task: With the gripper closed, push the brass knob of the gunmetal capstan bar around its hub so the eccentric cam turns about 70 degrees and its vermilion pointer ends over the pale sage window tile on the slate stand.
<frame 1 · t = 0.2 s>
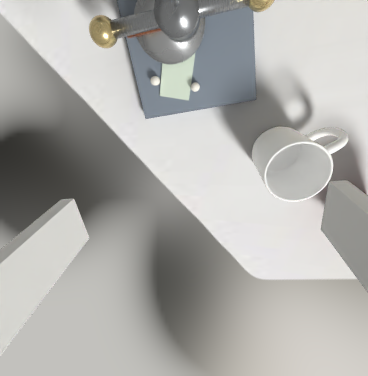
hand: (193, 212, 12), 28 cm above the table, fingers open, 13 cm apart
cup: (286, 144, 37), on the table
stand: (184, 26, 31), on the table
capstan: (179, 17, 26), point 5 cm above the table, hinge at 0.0°
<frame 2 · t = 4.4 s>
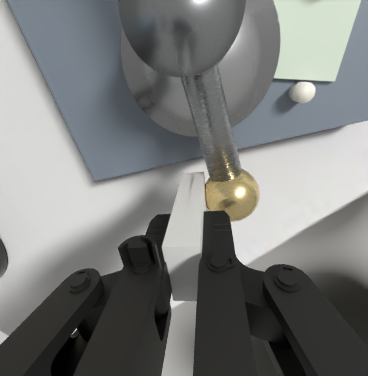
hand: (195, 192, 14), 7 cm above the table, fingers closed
stand: (194, 39, 16), on the table
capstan: (187, 22, 11), point 5 cm above the table, hinge at 2.8°, touching gripper
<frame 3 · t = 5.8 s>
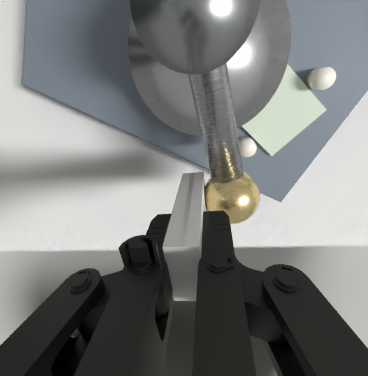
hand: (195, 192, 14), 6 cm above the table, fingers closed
stand: (203, 36, 15), on the table
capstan: (198, 18, 11), point 5 cm above the table, hinge at 38.0°, touching gripper
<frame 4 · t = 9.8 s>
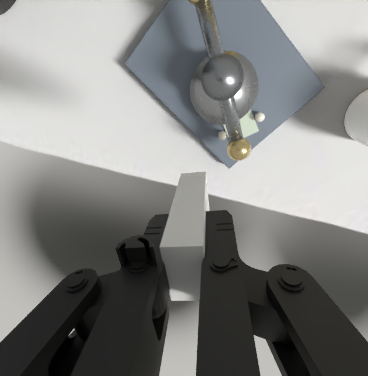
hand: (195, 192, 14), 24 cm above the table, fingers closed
stand: (219, 78, 32), on the table
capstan: (221, 78, 28), point 5 cm above the table, hinge at 62.6°
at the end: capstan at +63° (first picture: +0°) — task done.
